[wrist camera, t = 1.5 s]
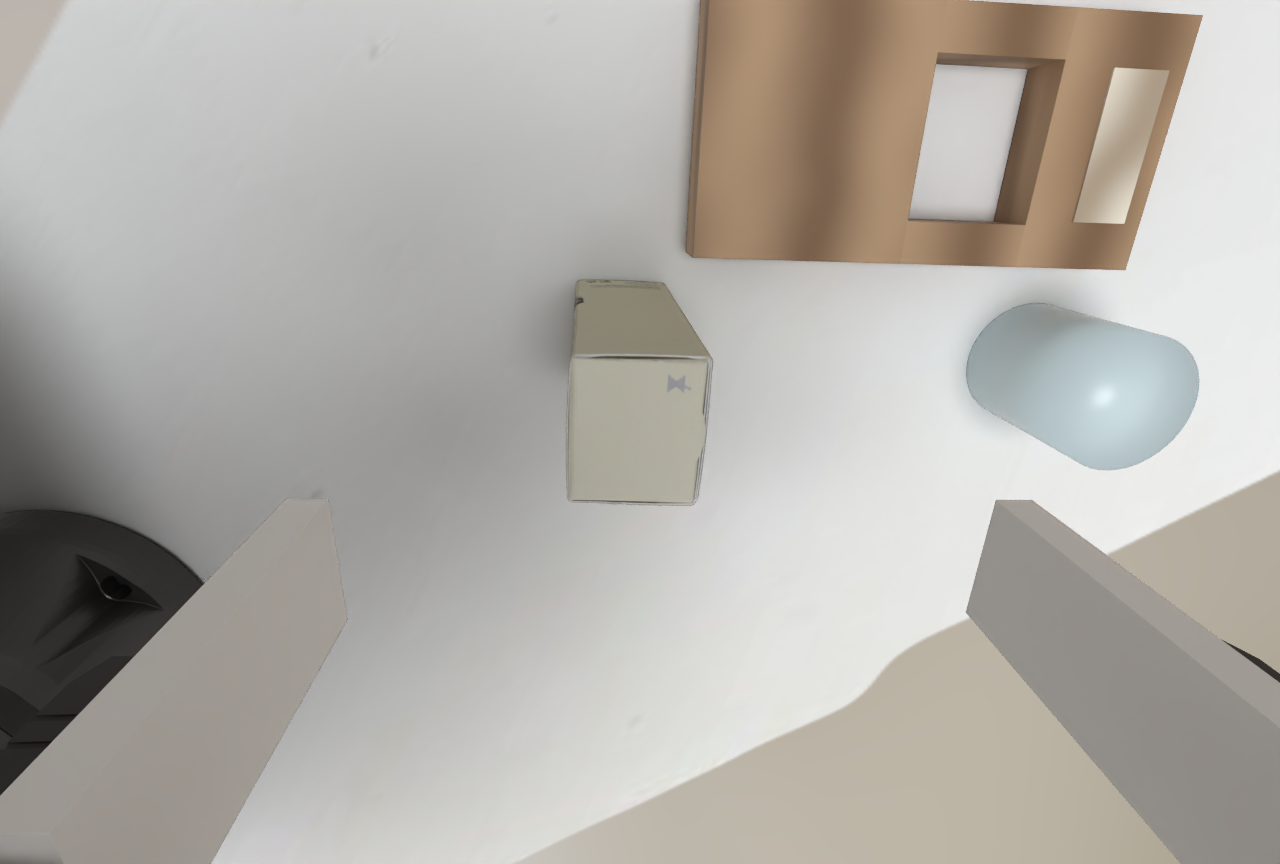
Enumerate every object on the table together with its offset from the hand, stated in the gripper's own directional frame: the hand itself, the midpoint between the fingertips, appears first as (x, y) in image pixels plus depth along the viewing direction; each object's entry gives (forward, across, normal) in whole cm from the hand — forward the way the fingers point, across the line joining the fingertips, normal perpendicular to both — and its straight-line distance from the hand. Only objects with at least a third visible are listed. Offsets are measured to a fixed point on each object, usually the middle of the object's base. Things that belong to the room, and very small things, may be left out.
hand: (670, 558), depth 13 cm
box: (+20, 0, 0) cm, 20 cm away
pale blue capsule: (+20, +21, -1) cm, 29 cm away
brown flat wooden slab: (+20, +13, +9) cm, 25 cm away
